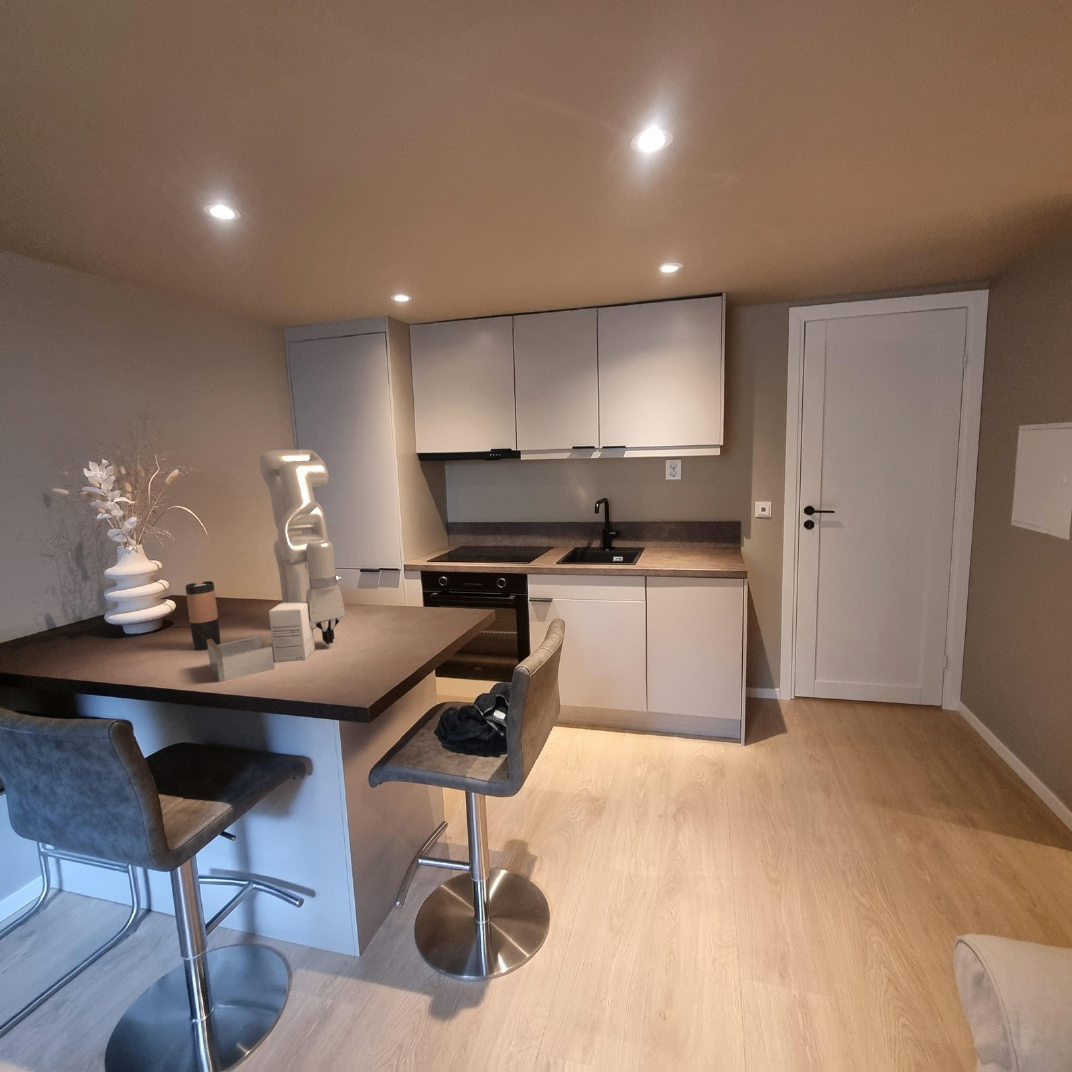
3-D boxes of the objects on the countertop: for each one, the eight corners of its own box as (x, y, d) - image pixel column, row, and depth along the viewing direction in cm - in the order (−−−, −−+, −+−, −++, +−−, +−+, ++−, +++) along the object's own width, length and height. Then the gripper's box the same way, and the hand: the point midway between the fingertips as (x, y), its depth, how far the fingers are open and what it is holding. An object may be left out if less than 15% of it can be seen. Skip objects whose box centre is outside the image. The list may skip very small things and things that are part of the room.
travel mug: (208, 651, 172) (200, 586, 169) (187, 650, 173) (178, 586, 171) (227, 642, 179) (219, 581, 177) (206, 642, 181) (198, 581, 178)
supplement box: (284, 651, 168) (279, 602, 166) (315, 649, 169) (310, 600, 167) (273, 662, 159) (267, 610, 157) (306, 660, 160) (300, 608, 158)
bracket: (261, 655, 165) (258, 629, 164) (274, 668, 154) (271, 640, 153) (210, 667, 157) (206, 639, 156) (219, 682, 146) (216, 652, 145)
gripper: (343, 576, 175) (348, 634, 177) (293, 585, 166) (299, 645, 168) (352, 580, 169) (357, 639, 171) (300, 589, 160) (307, 651, 162)
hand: (328, 642), depth 170 cm, fingers closed
